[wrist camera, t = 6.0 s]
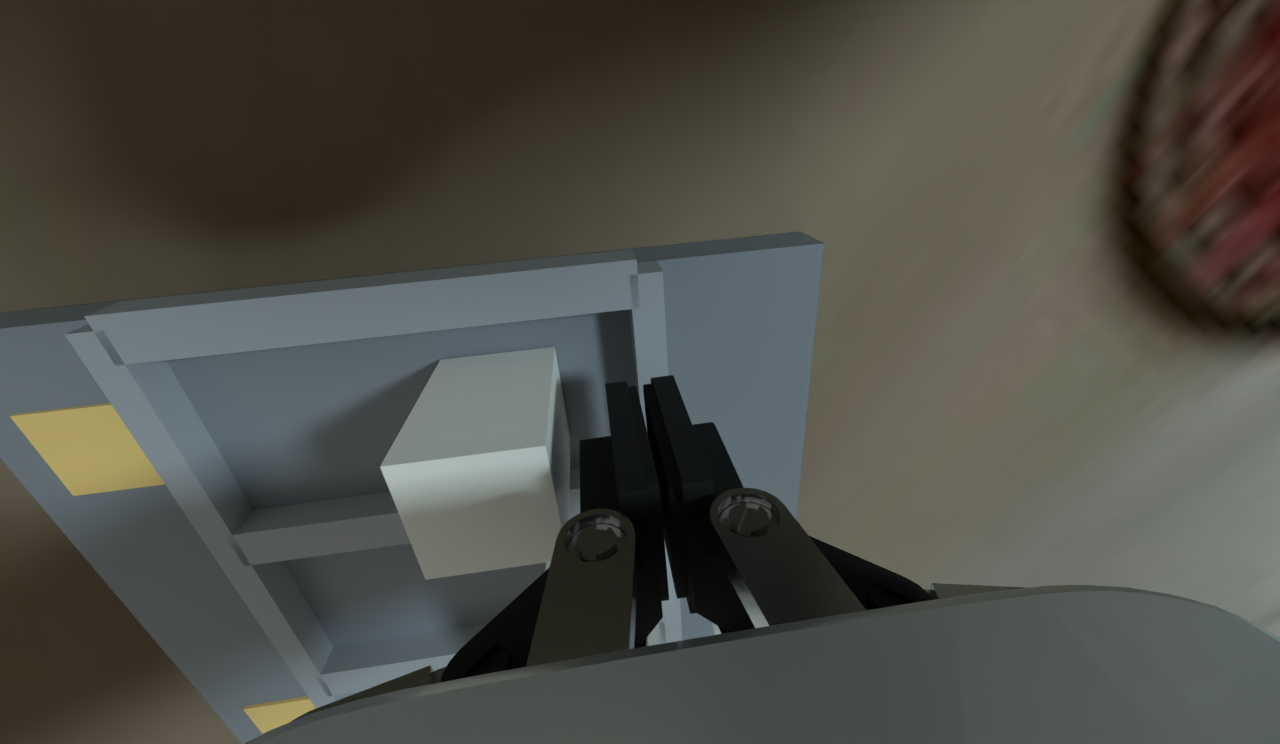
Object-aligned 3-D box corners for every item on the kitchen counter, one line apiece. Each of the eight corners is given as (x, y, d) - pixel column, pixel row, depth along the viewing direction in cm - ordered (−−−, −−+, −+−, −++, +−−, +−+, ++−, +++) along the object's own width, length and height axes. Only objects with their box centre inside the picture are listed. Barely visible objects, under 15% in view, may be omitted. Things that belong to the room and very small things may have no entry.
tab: (554, 346, 13) (545, 446, 9) (570, 438, 14) (568, 559, 11) (440, 359, 13) (380, 466, 9) (467, 451, 14) (425, 579, 10)
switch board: (801, 219, 14) (844, 237, 12) (767, 662, 24) (787, 718, 21) (-40, 302, 12) (-172, 342, 10) (290, 739, 22) (258, 808, 20)
